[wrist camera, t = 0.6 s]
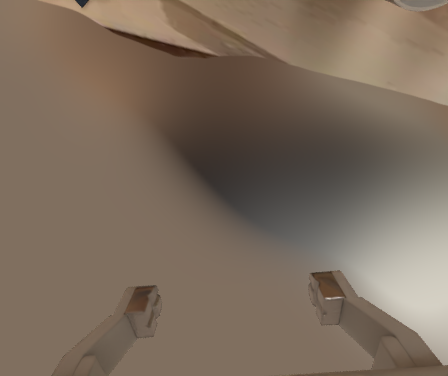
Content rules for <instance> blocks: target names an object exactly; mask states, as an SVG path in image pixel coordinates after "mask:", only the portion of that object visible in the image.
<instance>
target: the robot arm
mask: <svg viewBox="0 0 448 376" xmlns="http://www.w3.org/2000/svg"><path fill="white" fill-rule="evenodd" d="M309 280H310V281H311V283H310V284H309V287H308V290H309V296H310V300H311V302H312V304H313V305H314V306H315V307H316V314H317V316H318V319H319V321H320V323H321V325H339V326H340V327H341V328H342V329H344V331H345V332H346V333H348V334H349V335H350V336H351V337H352V338H353V339H354V340H355V341H356V342H357V343H358V344H359V345H360V346H361V347H362V348H363V349H364V350H365V351H367V352H368V353H369V354H370V355H371V356H372V357H373V358H374V362H373V365H372V369H371V370H360V371H343V372H329V373H311V374H294V375H276V376H448V365H445V366H443V365H442V363H441V362H440V361H439V360H438V359H437V357H436V356H435V355H434V354H433V352H432V351H431V350H430V348H429V347H428V346H427V345H426V343H425V342H424V341H423V340H422V338H421V337H420V336H419V335H418V334H417V333H416V332H415V331H413V330H411V329H410V328H408V327H407V326H405V325H404V324H402V323H401V322H399V321H398V320H396V319H395V318H393V317H391V316H390V315H388V314H387V313H385V312H384V311H382V310H380V309H379V308H377V307H376V306H374V305H373V304H371V303H370V302H368V301H367V300H365V299H364V298H362V297H358V296H357V294H356V293H355V291H354V290H353V288H352V287H351V285H350V284H349V282H348V281H347V279H346V278H345V276H344V275H343V273H342V272H341V271H330V272H329V271H328V272H316V273H310V275H309ZM157 293H158V288H157V286H156V285H153V286H136V287H128V288H127V289H126V290H125V292H124V294H123V296H122V298H121V300H120V302H119V304H118V306H117V308H116V310H115V312H114V314H113V315H111V316H109V317H108V318H107V319H106V320H104V321H103V322H102V323H101V324H100V325H99V326H98V327H96V328H95V329H94V330H93V331H92V332H91V333H90V334H89V335H87V336H86V337H85V338H84V339H83V340H81V341H80V342H79V343H78V344H77V345H76V346H75V347H73V348H72V349H71V350H70V351H69V352H68V353H67V354H65V355H64V356H63V358H62V359H61V361H60V363H59V364H58V366H57V368H56V369H55V371H54V372H53V374H52V376H108V375H109V374H110V373H111V371H112V370H113V369H114V368H115V366H116V365H117V364H118V363H119V361H120V360H121V359H122V358H123V356H124V355H125V354H126V353H127V351H128V350H129V349H130V348H131V346H132V345H133V344H134V343H135V341H136V340H137V338H146V337H153V336H154V334H155V330H156V327H157V321H156V319H157V318H158V317H159V316H160V312H161V307H162V301H161V297H160V295H158V294H157Z"/></svg>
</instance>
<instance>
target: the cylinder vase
mask: <svg viewBox="0 0 448 376" xmlns="http://www.w3.org/2000/svg"><path fill="white" fill-rule="evenodd" d="M386 1H388V2H390V3H393V4H395V5H397V6H399V7H401V8H403V9H406V10H409V11H427V10H431V9H435V8H438V7H441V6H443V5H445V4H447V3H448V0H386Z"/></svg>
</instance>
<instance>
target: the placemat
mask: <svg viewBox="0 0 448 376" xmlns="http://www.w3.org/2000/svg"><path fill="white" fill-rule="evenodd" d="M75 1H76V2H77V3H78V4H79V5H80V6H81V7H83V6H84V5H85V4H86V3H87V2H88V0H75Z"/></svg>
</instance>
